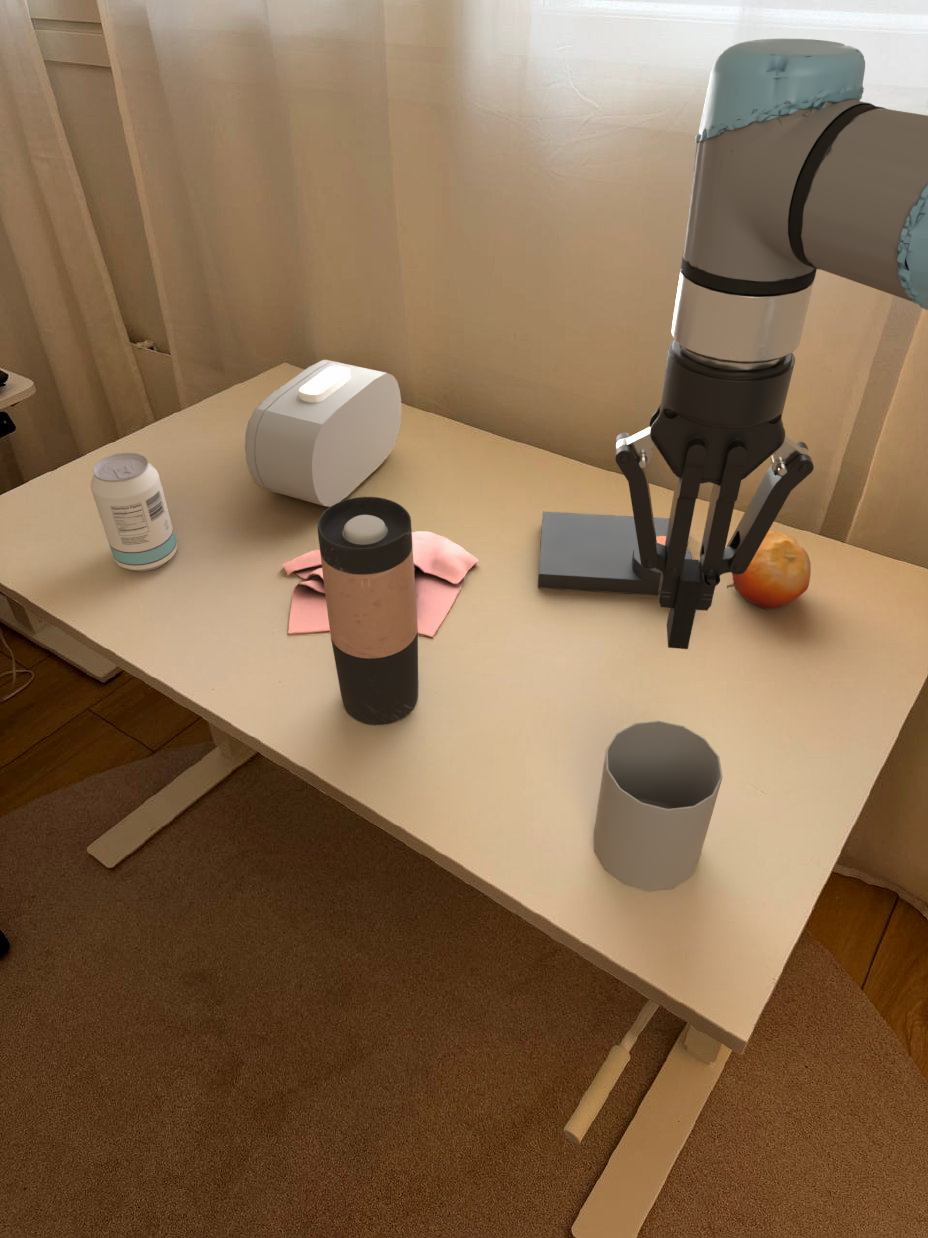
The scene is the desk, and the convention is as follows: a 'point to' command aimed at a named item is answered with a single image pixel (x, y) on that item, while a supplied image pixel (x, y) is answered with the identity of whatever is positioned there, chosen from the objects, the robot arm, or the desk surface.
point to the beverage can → (133, 511)
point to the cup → (655, 804)
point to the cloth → (434, 584)
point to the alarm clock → (323, 432)
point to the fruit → (775, 573)
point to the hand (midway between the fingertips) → (677, 636)
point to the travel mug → (371, 606)
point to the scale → (595, 554)
